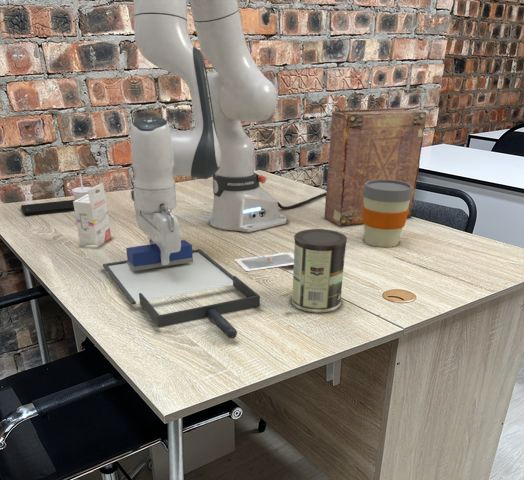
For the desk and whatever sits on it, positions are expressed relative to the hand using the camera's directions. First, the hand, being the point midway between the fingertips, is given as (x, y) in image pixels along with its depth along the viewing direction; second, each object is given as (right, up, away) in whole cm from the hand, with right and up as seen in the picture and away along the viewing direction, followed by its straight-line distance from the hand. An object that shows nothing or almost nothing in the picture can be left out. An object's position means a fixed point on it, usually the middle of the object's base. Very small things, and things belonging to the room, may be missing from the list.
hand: (160, 259), depth 128 cm
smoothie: (-26, +15, +31) cm, 44 cm away
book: (+55, +19, +41) cm, 72 cm away
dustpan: (+13, -15, -20) cm, 28 cm away
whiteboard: (+3, -5, -3) cm, 6 cm away
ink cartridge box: (-20, +7, +18) cm, 28 cm away
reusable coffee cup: (+56, +8, +23) cm, 60 cm away
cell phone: (-40, +22, +43) cm, 63 cm away
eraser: (0, -1, 0) cm, 1 cm away
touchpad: (+25, 0, +5) cm, 26 cm away
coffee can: (+35, -11, -12) cm, 38 cm away
